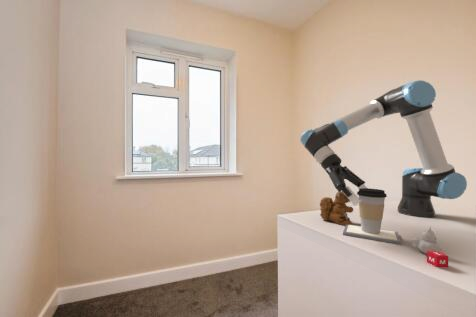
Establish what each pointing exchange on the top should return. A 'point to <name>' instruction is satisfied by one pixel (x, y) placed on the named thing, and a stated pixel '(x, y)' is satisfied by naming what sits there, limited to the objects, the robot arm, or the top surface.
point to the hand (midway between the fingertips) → (365, 201)
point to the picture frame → (382, 236)
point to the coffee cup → (371, 209)
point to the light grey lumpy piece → (427, 242)
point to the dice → (437, 259)
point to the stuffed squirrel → (336, 209)
